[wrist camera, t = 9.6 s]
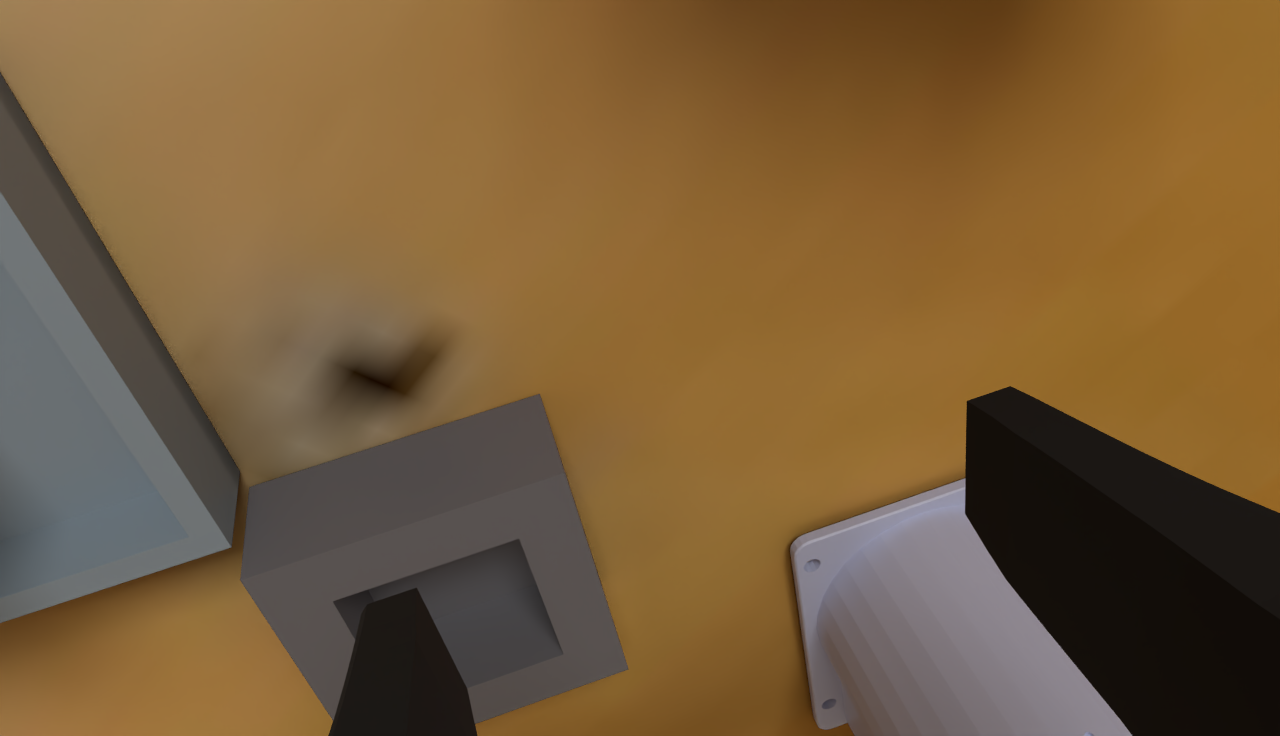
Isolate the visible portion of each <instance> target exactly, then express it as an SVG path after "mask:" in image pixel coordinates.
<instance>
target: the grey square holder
mask: <svg viewBox="0 0 1280 736" xmlns="http://www.w3.org/2000/svg"><path fill="white" fill-rule="evenodd" d="M240 581H241V582H242V584H243V585H244V587H245V588H246V590H247V591H248V593H249V594H250V596H251V597H252V599H253V600H254V602H255V603H256V605H257V606H258V608H259V609H260V611H261V612H262V614H263V615H264V617H265V618H266V620H267V621H268V623H269V624H270V626H271V627H272V629H273V630H274V632H275V633H276V635H277V637H278V638H279V640H280V641H281V643H282V644H283V646H284V647H285V649H286V650H287V652H288V653H289V655H290V656H291V658H292V659H293V661H294V662H295V664H296V665H297V667H298V668H299V670H300V671H301V673H302V674H303V676H304V677H305V679H306V680H307V682H308V683H309V685H310V686H311V688H312V689H313V691H314V692H315V694H316V695H317V697H318V698H319V700H320V701H321V703H322V704H323V706H324V707H325V709H326V710H327V712H328V714H329V715H330V717H331V718H332V720H334V717H335V714H336V710H337V707H338V703H339V700H340V696H341V693H342V689H343V686H344V682H345V678H346V675H347V671H348V667H349V663H350V659H351V655H352V651H353V647H354V643H355V639H356V635H357V630H358V626H359V621H360V617H361V613H362V612H363V610H364V608H365V607H366V605H367V604H369V603H372V602H375V601H378V600H381V599H384V598H387V597H390V596H393V595H396V594H399V593H402V592H405V591H408V590H411V589H414V588H417V589H418V591H419V593H420V595H421V597H422V599H423V601H424V603H425V605H426V607H427V609H428V611H429V613H430V615H431V617H432V619H433V621H434V623H435V625H436V627H437V629H438V631H439V633H440V635H441V637H442V639H443V641H444V643H445V645H446V647H447V649H448V651H449V653H450V655H451V657H452V659H453V661H454V663H455V665H456V667H457V669H458V671H459V673H460V675H461V677H462V679H463V681H464V683H465V685H466V687H467V689H468V694H469V699H470V704H471V708H472V713H473V718H474V722H475V724H476V723H479V722H482V721H485V720H487V719H490V718H493V717H496V716H499V715H501V714H504V713H507V712H510V711H513V710H515V709H518V708H521V707H524V706H527V705H530V704H532V703H535V702H538V701H541V700H544V699H546V698H549V697H552V696H555V695H558V694H560V693H563V692H566V691H569V690H572V689H574V688H577V687H580V686H583V685H586V684H588V683H591V682H594V681H597V680H600V679H602V678H605V677H608V676H611V675H614V674H616V673H619V672H622V671H625V670H628V666H627V663H626V660H625V657H624V654H623V650H622V647H621V644H620V641H619V638H618V635H617V632H616V629H615V625H614V622H613V619H612V616H611V613H610V610H609V607H608V604H607V600H606V597H605V594H604V591H603V588H602V585H601V582H600V579H599V576H598V572H597V569H596V566H595V563H594V560H593V557H592V554H591V551H590V548H589V545H588V542H587V539H586V535H585V532H584V529H583V526H582V523H581V520H580V517H579V514H578V511H577V508H576V505H575V502H574V498H573V495H572V492H571V489H570V486H569V483H568V480H567V477H566V474H565V471H564V468H563V465H562V461H561V458H560V455H559V452H558V449H557V446H556V443H555V440H554V437H553V434H552V431H551V428H550V424H549V421H548V418H547V415H546V412H545V409H544V406H543V403H542V400H541V397H540V394H538V395H535V396H532V397H529V398H526V399H522V400H519V401H516V402H513V403H510V404H507V405H504V406H501V407H498V408H494V409H491V410H488V411H485V412H482V413H479V414H476V415H473V416H470V417H466V418H463V419H460V420H457V421H454V422H451V423H448V424H445V425H442V426H438V427H435V428H432V429H429V430H426V431H423V432H420V433H417V434H414V435H410V436H407V437H404V438H401V439H398V440H395V441H392V442H389V443H386V444H382V445H379V446H376V447H373V448H370V449H367V450H364V451H361V452H358V453H354V454H351V455H348V456H345V457H342V458H339V459H336V460H333V461H330V462H326V463H323V464H320V465H317V466H314V467H311V468H308V469H305V470H302V471H298V472H295V473H292V474H289V475H286V476H283V477H280V478H277V479H274V480H271V481H267V482H264V483H261V484H258V485H255V486H252V487H249V496H248V507H247V517H246V527H245V537H244V548H243V558H242V568H241V578H240Z"/></svg>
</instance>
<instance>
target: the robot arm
mask: <svg viewBox="0 0 1280 736" xmlns="http://www.w3.org/2000/svg"><path fill="white" fill-rule="evenodd" d="M790 555H791V562H792V569H793V576H794V583H795V590H796V597H797V604H798V611H799V618H800V625H801V632H802V639H803V646H804V653H805V660H806V667H807V674H808V681H809V689H810V696H811V703H812V710H813V717H814V719H815V721H816V723H817V725H818V727H819V728H821V729H825V730H828V729H832V728H835V727H837V726H840V725H843V724H846V723H848V724H849V726H850V728H851V730H852V732H853V734H854V736H1280V513H1278V512H1276V511H1273V510H1271V509H1268V508H1266V507H1264V506H1261V505H1259V504H1256V503H1254V502H1252V501H1249V500H1247V499H1245V498H1242V497H1240V496H1237V495H1235V494H1233V493H1230V492H1228V491H1226V490H1223V489H1221V488H1219V487H1216V486H1214V485H1212V484H1210V483H1207V482H1205V481H1203V480H1201V479H1199V478H1196V477H1194V476H1192V475H1190V474H1188V473H1185V472H1183V471H1181V470H1179V469H1177V468H1175V467H1172V466H1170V465H1168V464H1166V463H1164V462H1162V461H1160V460H1158V459H1156V458H1154V457H1151V456H1149V455H1147V454H1145V453H1143V452H1141V451H1139V450H1137V449H1135V448H1133V447H1131V446H1129V445H1127V444H1125V443H1123V442H1121V441H1119V440H1117V439H1115V438H1113V437H1111V436H1109V435H1107V434H1105V433H1103V432H1101V431H1099V430H1097V429H1095V428H1093V427H1091V426H1089V425H1087V424H1085V423H1083V422H1081V421H1079V420H1077V419H1075V418H1073V417H1071V416H1069V415H1067V414H1065V413H1063V412H1061V411H1059V410H1057V409H1055V408H1054V407H1052V406H1050V405H1048V404H1046V403H1044V402H1042V401H1040V400H1038V399H1036V398H1034V397H1032V396H1030V395H1028V394H1026V393H1023V392H1021V391H1019V390H1017V389H1015V388H1013V387H1011V386H1010V387H1007V388H1004V389H1001V390H998V391H995V392H992V393H989V394H986V395H983V396H980V397H977V398H974V399H971V400H969V401H967V422H966V478H964V479H961V480H959V481H956V482H953V483H950V484H947V485H944V486H941V487H938V488H936V489H933V490H930V491H927V492H924V493H921V494H918V495H915V496H913V497H910V498H907V499H904V500H901V501H898V502H895V503H892V504H890V505H887V506H884V507H881V508H878V509H875V510H872V511H869V512H867V513H864V514H861V515H858V516H855V517H852V518H849V519H846V520H844V521H841V522H838V523H835V524H832V525H829V526H826V527H823V528H821V529H818V530H815V531H812V532H809V533H806V534H804V535H802V536H800V537H798V538H797V539H796V540H795V541H794V542H793V544H792V545H791V548H790ZM810 560H811V561H810ZM808 561H809V562H808ZM329 736H477V732H476V727H475V722H474V718H473V713H472V708H471V704H470V699H469V694H468V689H467V687H466V685H465V683H464V681H463V679H462V677H461V675H460V673H459V671H458V669H457V667H456V665H455V663H454V661H453V659H452V657H451V655H450V653H449V651H448V649H447V647H446V645H445V643H444V641H443V639H442V637H441V635H440V633H439V631H438V629H437V627H436V625H435V623H434V621H433V619H432V617H431V615H430V613H429V611H428V609H427V607H426V605H425V603H424V601H423V599H422V597H421V595H420V593H419V591H418V589H417V588H414V589H411V590H408V591H405V592H402V593H399V594H396V595H393V596H390V597H387V598H384V599H381V600H378V601H375V602H372V603H369V604H367V605H366V607H365V608H364V610H363V612H362V613H361V617H360V621H359V626H358V630H357V635H356V639H355V643H354V647H353V651H352V655H351V659H350V663H349V667H348V671H347V675H346V678H345V682H344V686H343V689H342V693H341V696H340V700H339V703H338V707H337V710H336V714H335V717H334V720H333V723H332V726H331V730H330V733H329Z"/></svg>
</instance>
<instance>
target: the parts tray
mask: <svg viewBox="0 0 1280 736" xmlns="http://www.w3.org/2000/svg"><path fill="white" fill-rule="evenodd" d="M239 476H240V471H239V469H238V468H237V466H236V464H235V463H234V461H233V459H232V458H231V456H230V454H229V453H228V451H227V449H226V448H225V446H224V444H223V443H222V441H221V439H220V438H219V436H218V434H217V433H216V431H215V429H214V428H213V426H212V424H211V423H210V421H209V419H208V418H207V416H206V414H205V413H204V411H203V409H202V408H201V406H200V404H199V403H198V401H197V399H196V398H195V396H194V394H193V393H192V391H191V389H190V388H189V386H188V384H187V383H186V381H185V379H184V378H183V376H182V374H181V373H180V371H179V369H178V368H177V366H176V364H175V363H174V361H173V359H172V358H171V356H170V354H169V353H168V351H167V349H166V348H165V346H164V344H163V343H162V341H161V339H160V338H159V336H158V334H157V333H156V331H155V329H154V328H153V326H152V324H151V323H150V321H149V319H148V318H147V316H146V315H145V313H144V311H143V310H142V308H141V306H140V305H139V303H138V301H137V300H136V298H135V296H134V295H133V293H132V291H131V290H130V288H129V286H128V285H127V283H126V281H125V280H124V278H123V276H122V275H121V273H120V271H119V270H118V268H117V266H116V265H115V263H114V261H113V260H112V258H111V256H110V255H109V253H108V251H107V250H106V248H105V246H104V245H103V243H102V241H101V240H100V238H99V236H98V235H97V233H96V231H95V230H94V228H93V226H92V225H91V223H90V221H89V220H88V218H87V216H86V215H85V213H84V211H83V210H82V208H81V206H80V205H79V203H78V201H77V200H76V198H75V196H74V195H73V193H72V191H71V190H70V188H69V186H68V185H67V183H66V181H65V180H64V178H63V176H62V175H61V173H60V171H59V170H58V168H57V166H56V165H55V163H54V162H53V160H52V158H51V157H50V155H49V153H48V152H47V150H46V148H45V147H44V145H43V143H42V142H41V140H40V138H39V137H38V135H37V133H36V132H35V130H34V128H33V127H32V125H31V123H30V122H29V120H28V118H27V117H26V115H25V113H24V112H23V110H22V108H21V107H20V105H19V103H18V102H17V100H16V98H15V97H14V95H13V93H12V92H11V90H10V88H9V87H8V85H7V83H6V82H5V80H4V78H3V77H2V75H1V73H0V623H2V622H5V621H8V620H11V619H14V618H17V617H20V616H23V615H26V614H29V613H32V612H35V611H39V610H42V609H45V608H48V607H51V606H54V605H57V604H60V603H63V602H66V601H69V600H72V599H75V598H78V597H81V596H84V595H87V594H90V593H93V592H97V591H100V590H103V589H106V588H109V587H112V586H115V585H118V584H121V583H124V582H127V581H130V580H133V579H136V578H139V577H142V576H145V575H148V574H151V573H155V572H158V571H161V570H164V569H167V568H170V567H173V566H176V565H179V564H182V563H185V562H188V561H191V560H194V559H197V558H200V557H203V556H206V555H210V554H213V553H216V552H219V551H222V550H225V549H228V548H231V547H232V539H233V530H234V521H235V512H236V503H237V494H238V485H239Z"/></svg>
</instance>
